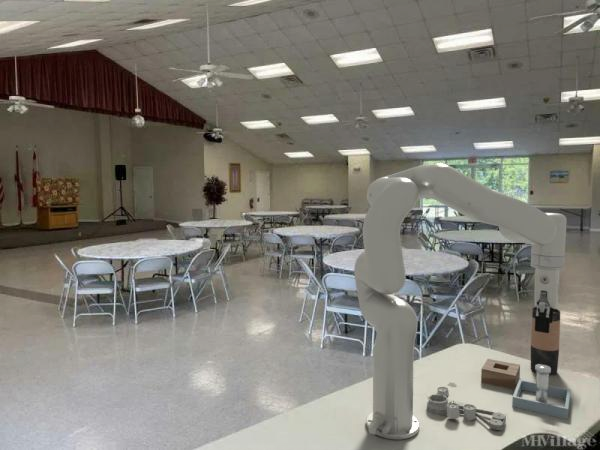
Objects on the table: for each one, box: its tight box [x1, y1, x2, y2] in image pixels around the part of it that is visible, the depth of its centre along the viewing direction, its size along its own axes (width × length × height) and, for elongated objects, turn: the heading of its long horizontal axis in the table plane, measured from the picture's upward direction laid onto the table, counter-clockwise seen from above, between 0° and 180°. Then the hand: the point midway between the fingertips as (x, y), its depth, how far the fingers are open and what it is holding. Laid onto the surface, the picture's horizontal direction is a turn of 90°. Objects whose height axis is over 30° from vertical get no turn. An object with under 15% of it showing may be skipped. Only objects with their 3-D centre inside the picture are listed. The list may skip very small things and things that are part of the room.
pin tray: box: [511, 378, 571, 420], centre depth 121 cm, size 12×12×4 cm
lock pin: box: [535, 364, 551, 404], centre depth 121 cm, size 4×4×10 cm
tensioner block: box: [480, 358, 521, 391], centre depth 135 cm, size 9×9×5 cm
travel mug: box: [530, 306, 561, 377], centre depth 140 cm, size 8×8×20 cm
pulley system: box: [426, 381, 507, 431], centre depth 121 cm, size 27×5×15 cm
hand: (543, 326), depth 119 cm, fingers open, 9 cm apart
